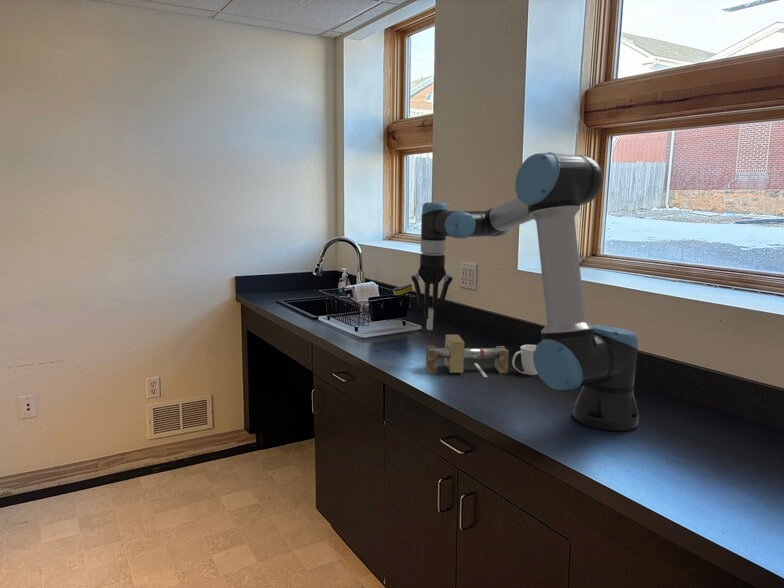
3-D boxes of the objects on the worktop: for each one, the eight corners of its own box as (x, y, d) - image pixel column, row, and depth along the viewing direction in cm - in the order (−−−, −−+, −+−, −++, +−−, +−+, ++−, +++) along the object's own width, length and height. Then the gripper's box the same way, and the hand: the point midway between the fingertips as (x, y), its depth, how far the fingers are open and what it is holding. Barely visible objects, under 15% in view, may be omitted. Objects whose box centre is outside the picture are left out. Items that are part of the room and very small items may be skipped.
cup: (546, 375, 183) (548, 349, 182) (518, 378, 179) (520, 351, 178) (533, 368, 189) (534, 343, 188) (505, 371, 186) (507, 346, 184)
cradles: (502, 367, 190) (503, 345, 189) (507, 373, 184) (508, 351, 183) (425, 367, 188) (426, 345, 186) (428, 373, 182) (429, 351, 180)
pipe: (503, 356, 188) (504, 346, 187) (506, 360, 184) (507, 349, 184) (427, 357, 186) (427, 346, 185) (429, 360, 182) (429, 349, 182)
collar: (457, 363, 190) (458, 334, 188) (463, 372, 181) (464, 342, 179) (444, 363, 190) (445, 334, 188) (449, 372, 180) (451, 342, 179)
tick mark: (477, 363, 193) (477, 363, 193) (487, 377, 179) (487, 376, 179) (474, 363, 193) (474, 363, 193) (484, 377, 179) (484, 376, 179)
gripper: (451, 252, 187) (448, 326, 192) (410, 251, 186) (407, 325, 190) (456, 255, 180) (452, 332, 184) (413, 254, 179) (410, 331, 183)
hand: (429, 328), depth 187 cm, fingers closed
